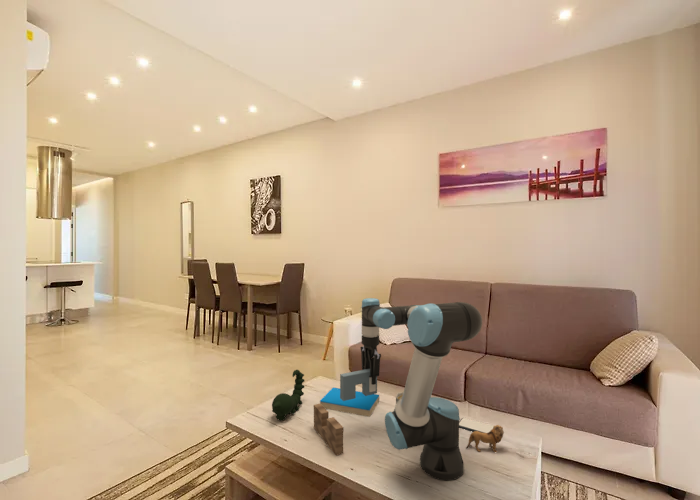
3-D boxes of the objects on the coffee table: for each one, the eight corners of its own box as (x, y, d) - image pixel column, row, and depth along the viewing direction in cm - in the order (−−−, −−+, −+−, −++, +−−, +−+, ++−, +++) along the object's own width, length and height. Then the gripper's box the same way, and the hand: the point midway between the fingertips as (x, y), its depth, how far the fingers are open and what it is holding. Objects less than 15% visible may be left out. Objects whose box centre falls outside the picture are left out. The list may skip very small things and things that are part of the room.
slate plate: (373, 390, 154) (373, 367, 154) (377, 393, 151) (377, 370, 151) (340, 398, 147) (340, 374, 146) (343, 401, 144) (343, 376, 144)
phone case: (456, 428, 153) (495, 440, 144) (456, 424, 153) (495, 436, 144) (462, 420, 160) (500, 430, 151) (462, 416, 160) (500, 426, 151)
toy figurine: (291, 404, 177) (263, 424, 153) (293, 365, 178) (265, 379, 154) (308, 407, 174) (282, 428, 150) (310, 368, 175) (284, 382, 151)
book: (369, 409, 161) (319, 400, 170) (369, 418, 161) (319, 409, 170) (379, 394, 177) (333, 386, 186) (379, 402, 177) (333, 394, 186)
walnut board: (343, 453, 134) (343, 427, 133) (336, 455, 132) (336, 429, 132) (320, 426, 153) (320, 403, 153) (313, 427, 152) (313, 404, 151)
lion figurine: (499, 444, 140) (499, 422, 140) (506, 452, 135) (506, 429, 134) (463, 446, 139) (463, 423, 139) (468, 454, 134) (469, 430, 133)
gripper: (388, 338, 145) (388, 395, 146) (368, 329, 160) (368, 381, 160) (372, 340, 142) (372, 398, 143) (353, 331, 156) (353, 384, 157)
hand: (370, 389), depth 152 cm, fingers closed on slate plate, 3 cm apart
